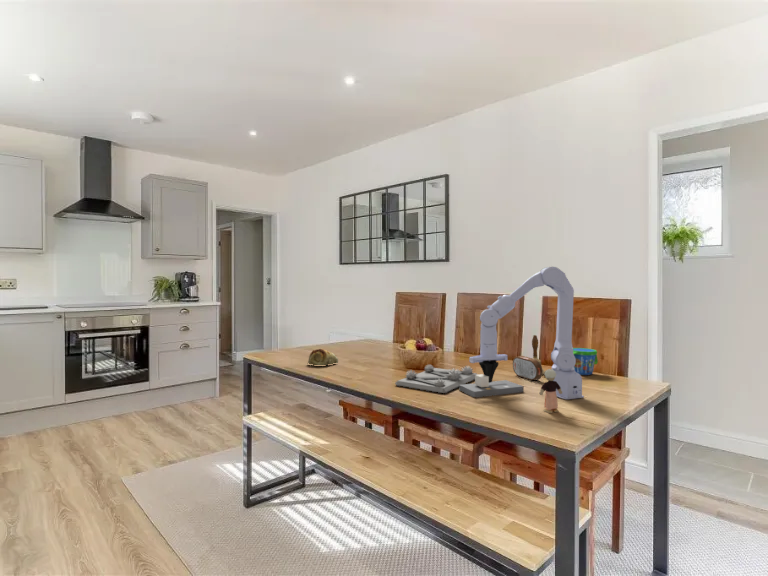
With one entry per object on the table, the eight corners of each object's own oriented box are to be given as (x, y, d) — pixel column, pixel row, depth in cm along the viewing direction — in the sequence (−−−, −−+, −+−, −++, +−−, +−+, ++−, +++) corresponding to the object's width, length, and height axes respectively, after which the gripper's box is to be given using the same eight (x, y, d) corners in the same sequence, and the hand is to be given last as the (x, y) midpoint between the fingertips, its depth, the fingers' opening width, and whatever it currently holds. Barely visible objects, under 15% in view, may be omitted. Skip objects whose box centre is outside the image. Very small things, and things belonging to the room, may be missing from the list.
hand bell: (547, 375, 176) (547, 336, 175) (526, 374, 177) (526, 336, 177) (543, 370, 184) (543, 334, 184) (523, 370, 185) (523, 333, 185)
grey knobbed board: (433, 373, 183) (433, 356, 183) (480, 379, 170) (480, 361, 170) (393, 387, 159) (393, 368, 159) (444, 396, 146) (444, 375, 146)
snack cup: (587, 369, 185) (587, 346, 185) (607, 374, 175) (607, 350, 175) (558, 372, 180) (558, 348, 180) (577, 377, 170) (577, 352, 170)
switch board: (523, 391, 149) (523, 386, 149) (474, 397, 142) (474, 391, 142) (506, 385, 159) (506, 380, 159) (459, 390, 152) (459, 384, 152)
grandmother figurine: (553, 407, 131) (553, 366, 130) (564, 411, 127) (564, 369, 127) (535, 411, 127) (535, 369, 127) (546, 415, 124) (546, 371, 123)
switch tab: (488, 386, 148) (488, 376, 148) (481, 387, 147) (481, 377, 147) (482, 383, 152) (482, 374, 151) (474, 384, 150) (474, 374, 150)
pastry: (305, 367, 194) (305, 350, 194) (310, 362, 206) (310, 346, 206) (336, 367, 194) (336, 350, 194) (339, 362, 206) (339, 345, 206)
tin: (543, 382, 164) (543, 360, 164) (536, 382, 163) (536, 360, 163) (517, 374, 178) (517, 354, 178) (511, 374, 177) (511, 354, 177)
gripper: (499, 340, 156) (499, 377, 156) (464, 343, 151) (464, 381, 151) (511, 343, 149) (511, 381, 150) (475, 345, 144) (475, 385, 145)
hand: (488, 381), depth 150 cm, fingers closed
